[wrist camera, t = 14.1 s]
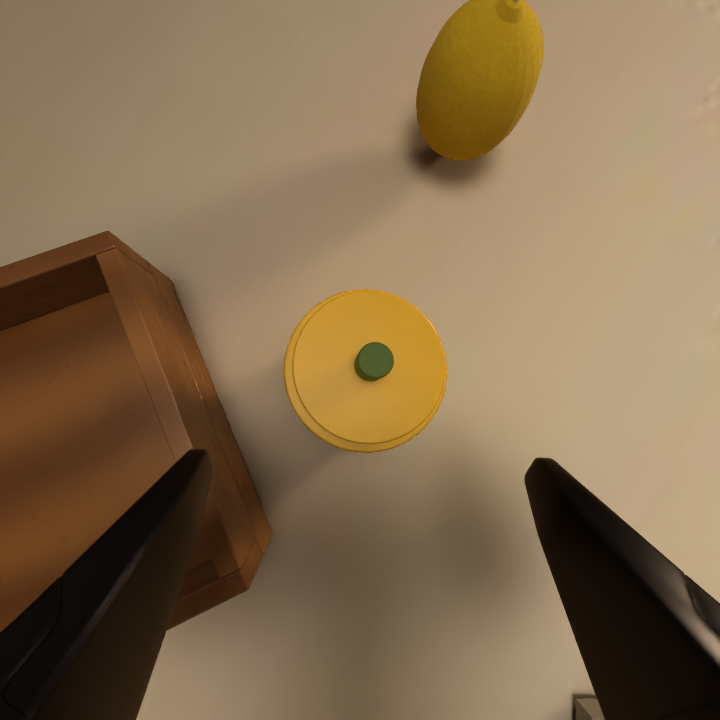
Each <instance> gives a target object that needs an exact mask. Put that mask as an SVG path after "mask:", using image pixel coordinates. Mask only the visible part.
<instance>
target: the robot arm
mask: <svg viewBox="0 0 720 720" xmlns="http://www.w3.org/2000/svg"><path fill="white" fill-rule="evenodd" d="M212 472H213V470H212V465H211V461H210V457H209V453H208V451H207V450H206V449H190V450H188V451H187V452H186V453H185V454H184V455H183V456H182V457H181V458H180V459H179V460H178V461H177V462H176V463H175V464H174V465H173V466H172V467H171V468H170V469H169V470H168V471H167V472H166V473H165V474H164V475H163V476H162V477H161V478H160V479H159V480H158V481H156V482H155V483H154V484H153V485H152V486H151V487H150V488H149V489H148V490H147V491H146V492H145V493H144V494H143V495H142V496H141V497H140V498H139V499H138V500H137V501H136V502H135V503H134V504H133V505H132V506H131V507H130V508H129V509H128V510H127V511H126V512H125V513H124V514H123V515H122V516H121V517H120V518H119V519H118V520H117V521H116V522H115V523H114V524H113V525H112V526H111V527H110V528H108V529H107V530H106V531H105V532H104V533H103V534H102V535H101V536H100V537H99V538H98V539H97V540H96V541H95V542H94V543H93V544H92V545H91V546H90V547H89V548H88V549H87V550H86V551H85V552H84V553H83V554H82V555H81V556H80V557H79V558H78V559H77V560H76V561H75V562H74V563H73V564H72V565H71V566H70V567H69V568H68V569H67V570H66V571H65V572H64V573H63V574H62V577H58V578H57V579H56V580H55V581H54V582H53V583H52V584H51V585H50V586H49V587H48V588H47V589H46V590H45V591H44V592H43V593H42V594H41V595H40V596H39V597H38V598H37V599H36V600H35V601H33V602H32V603H31V604H30V605H29V606H28V607H27V608H26V609H25V610H24V611H23V612H22V613H21V614H20V615H19V616H18V617H17V618H15V619H14V620H13V621H12V622H11V623H10V624H9V625H8V626H7V627H5V628H4V629H3V630H2V631H1V632H0V720H136V718H137V715H138V712H139V709H140V706H141V704H142V701H143V698H144V695H145V692H146V689H147V686H148V683H149V680H150V677H151V674H152V671H153V668H154V665H155V662H156V660H157V657H158V654H159V651H160V648H161V645H162V642H163V639H164V636H165V633H166V630H167V627H168V624H169V621H170V618H171V615H172V613H173V610H174V607H175V604H176V601H177V598H178V595H179V592H180V589H181V586H182V583H183V580H184V577H185V574H186V571H187V569H188V566H189V563H190V560H191V557H192V554H193V551H194V548H195V545H196V542H197V539H198V536H199V532H200V528H201V524H202V519H203V515H204V510H205V506H206V501H207V497H208V492H209V488H210V483H211V479H212ZM525 486H526V490H527V494H528V498H529V501H530V505H531V509H532V513H533V517H534V521H535V525H536V529H537V533H538V536H539V539H540V542H541V545H542V548H543V550H544V553H545V556H546V559H547V562H548V564H549V567H550V570H551V573H552V575H553V578H554V581H555V584H556V586H557V589H558V592H559V595H560V598H561V600H562V603H563V606H564V609H565V611H566V614H567V617H568V620H569V622H570V625H571V628H572V631H573V634H574V636H575V639H576V642H577V645H578V647H579V650H580V653H581V656H582V658H583V661H584V664H585V667H586V669H587V672H588V675H589V678H590V681H591V683H592V686H593V689H594V692H595V694H596V697H597V700H598V703H599V705H600V708H601V711H602V714H603V717H604V719H605V720H720V603H719V602H717V601H716V600H715V599H714V598H713V597H712V596H710V595H709V594H708V593H707V592H706V591H704V590H703V589H702V588H701V587H700V586H699V585H697V584H696V583H695V582H694V581H693V580H692V579H691V578H689V577H688V576H687V575H684V573H683V572H682V571H681V570H680V569H679V568H678V567H677V566H675V565H674V564H673V563H672V562H671V561H670V560H669V559H667V558H666V557H665V556H664V555H663V554H662V553H660V552H659V551H658V550H657V549H656V548H655V547H654V546H652V545H651V544H650V543H649V542H648V541H647V540H645V539H644V538H643V537H642V536H641V535H640V534H639V533H637V532H636V531H635V530H634V529H633V528H632V527H630V526H629V525H628V524H627V523H626V522H625V521H624V520H622V519H621V518H620V517H619V516H618V515H617V514H615V513H614V512H613V511H612V510H611V509H610V508H609V507H607V506H606V505H605V504H604V503H603V502H602V501H600V500H599V499H598V498H597V497H596V496H595V495H594V494H592V493H591V492H590V491H589V490H588V489H587V488H586V487H584V486H583V485H582V484H581V483H580V482H579V481H577V480H576V479H575V478H574V477H573V476H572V475H571V474H569V473H568V472H567V471H566V470H565V469H564V468H562V467H561V466H560V465H559V464H558V463H557V462H556V461H554V460H553V459H551V458H536V459H535V460H534V461H533V462H532V464H531V466H530V467H529V469H528V471H527V472H526V474H525Z"/></svg>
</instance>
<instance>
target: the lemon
mask: <svg viewBox="0 0 720 720" xmlns="http://www.w3.org/2000/svg"><path fill="white" fill-rule="evenodd" d="M542 61H543V36H542V31H541V28H540V24H539V22H538V19H537V17H536V15H535V13H534V12H533V10H532V9H531V8H530V6H529V5H528V4H527V3H526V2H525V1H524V0H470V1H468V2H467V3H465V4H463V5H462V6H461V7H460V8H459V9H458V10H457V11H456V12H455V13H454V14H453V15H452V16H451V17H450V18H449V19H448V20H447V22H446V23H445V24H444V26H443V27H442V29H441V30H440V32H439V34H438V36H437V38H436V39H435V41H434V43H433V45H432V47H431V49H430V51H429V53H428V55H427V57H426V60H425V62H424V65H423V68H422V72H421V76H420V80H419V85H418V90H417V98H416V109H417V120H418V124H419V127H420V130H421V133H422V135H423V137H424V139H425V140H426V142H427V143H428V145H429V146H430V147H431V148H432V149H433V150H434V151H435V152H436V153H438V154H439V155H441V156H443V157H445V158H448V159H451V160H469V159H474V158H477V157H479V156H481V155H483V154H486V153H487V152H489V151H491V150H492V149H493V148H494V147H496V146H497V145H498V144H499V143H500V142H502V141H503V140H504V139H505V138H506V137H507V136H508V135H509V133H510V132H511V131H512V130H513V128H514V127H515V126H516V124H517V122H518V121H519V119H520V118H521V116H522V115H523V113H524V111H525V110H526V108H527V106H528V104H529V102H530V100H531V97H532V95H533V92H534V90H535V87H536V84H537V80H538V77H539V74H540V70H541V67H542Z"/></svg>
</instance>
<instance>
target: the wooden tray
mask: <svg viewBox="0 0 720 720" xmlns="http://www.w3.org/2000/svg"><path fill="white" fill-rule="evenodd" d="M190 449H206V450H207V451H208V453H209V457H210V461H211V465H212V470H213V472H212V479H211V483H210V488H209V492H208V497H207V501H206V506H205V510H204V515H203V519H202V524H201V528H200V532H199V536H198V539H197V542H196V545H195V548H194V551H193V554H192V557H191V560H190V563H189V566H188V569H187V571H186V574H185V577H184V580H183V583H182V586H181V589H180V592H179V595H178V598H177V601H176V604H175V607H174V610H173V613H172V615H171V618H170V621H169V624H168V627H167V630H169V629H171V628H173V627H175V626H177V625H179V624H181V623H183V622H185V621H187V620H189V619H191V618H193V617H195V616H197V615H199V614H201V613H203V612H205V611H207V610H209V609H211V608H213V607H215V606H217V605H219V604H221V603H223V602H225V601H227V600H229V599H231V598H233V597H235V596H237V595H239V594H241V593H243V592H245V591H247V590H248V589H249V587H250V585H251V582H252V580H253V578H254V576H255V573H256V571H257V569H258V566H259V564H260V562H261V560H262V557H263V555H264V553H265V551H266V548H267V546H268V544H269V542H270V539H271V537H272V535H273V533H272V531H271V528H270V526H269V523H268V521H267V518H266V516H265V513H264V511H263V508H262V506H261V503H260V501H259V498H258V496H257V493H256V491H255V488H254V486H253V483H252V481H251V478H250V476H249V473H248V471H247V468H246V466H245V463H244V461H243V458H242V456H241V453H240V451H239V448H238V446H237V443H236V441H235V438H234V436H233V434H232V431H231V429H230V426H229V424H228V421H227V419H226V416H225V414H224V411H223V409H222V406H221V404H220V401H219V399H218V396H217V394H216V391H215V389H214V386H213V384H212V381H211V379H210V376H209V374H208V371H207V369H206V366H205V364H204V361H203V359H202V356H201V354H200V351H199V349H198V346H197V344H196V341H195V339H194V336H193V334H192V331H191V329H190V326H189V324H188V321H187V319H186V316H185V314H184V311H183V309H182V306H181V304H180V301H179V299H178V296H177V294H176V292H175V289H174V287H173V284H172V282H171V280H170V279H169V278H168V277H167V276H165V275H164V274H163V273H162V272H160V271H159V270H158V269H156V268H155V267H154V266H153V265H151V264H150V263H149V262H147V261H146V260H145V259H144V258H142V257H141V256H140V255H139V254H137V253H136V252H135V251H134V250H132V249H131V248H130V247H129V246H127V245H126V244H125V243H124V242H122V241H121V240H120V239H118V238H117V237H116V236H115V235H113V234H112V233H111V232H110V231H105V232H102V233H100V234H97V235H94V236H91V237H88V238H85V239H82V240H79V241H76V242H73V243H70V244H67V245H64V246H61V247H58V248H56V249H53V250H50V251H47V252H44V253H41V254H38V255H35V256H32V257H29V258H26V259H23V260H20V261H17V262H15V263H12V264H9V265H6V266H3V267H0V632H1V631H2V630H3V629H4V628H5V627H7V626H8V625H9V624H10V623H11V622H12V621H13V620H14V619H15V618H17V617H18V616H19V615H20V614H21V613H22V612H23V611H24V610H25V609H26V608H27V607H28V606H29V605H30V604H31V603H32V602H33V601H35V600H36V599H37V598H38V597H39V596H40V595H41V594H42V593H43V592H44V591H45V590H46V589H47V588H48V587H49V586H50V585H51V584H52V583H53V582H54V581H55V580H56V579H57V578H58V577H62V574H63V573H64V572H65V571H66V570H67V569H68V568H69V567H70V566H71V565H72V564H73V563H74V562H75V561H76V560H77V559H78V558H79V557H80V556H81V555H82V554H83V553H84V552H85V551H86V550H87V549H88V548H89V547H90V546H91V545H92V544H93V543H94V542H95V541H96V540H97V539H98V538H99V537H100V536H101V535H102V534H103V533H104V532H105V531H106V530H107V529H108V528H110V527H111V526H112V525H113V524H114V523H115V522H116V521H117V520H118V519H119V518H120V517H121V516H122V515H123V514H124V513H125V512H126V511H127V510H128V509H129V508H130V507H131V506H132V505H133V504H134V503H135V502H136V501H137V500H138V499H139V498H140V497H141V496H142V495H143V494H144V493H145V492H146V491H147V490H148V489H149V488H150V487H151V486H152V485H153V484H154V483H155V482H156V481H158V480H159V479H160V478H161V477H162V476H163V475H164V474H165V473H166V472H167V471H168V470H169V469H170V468H171V467H172V466H173V465H174V464H175V463H176V462H177V461H178V460H179V459H180V458H181V457H182V456H183V455H184V454H185V453H186V452H187V451H188V450H190ZM167 630H166V631H167Z"/></svg>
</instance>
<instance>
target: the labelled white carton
mask: <svg viewBox="0 0 720 720" xmlns="http://www.w3.org/2000/svg"><path fill="white" fill-rule="evenodd" d="M576 720H605V719H604V717H603V714H602V711H601V708H600V705H599V703H598V700H597V699H592V698H587V699H579V698H576Z"/></svg>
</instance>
